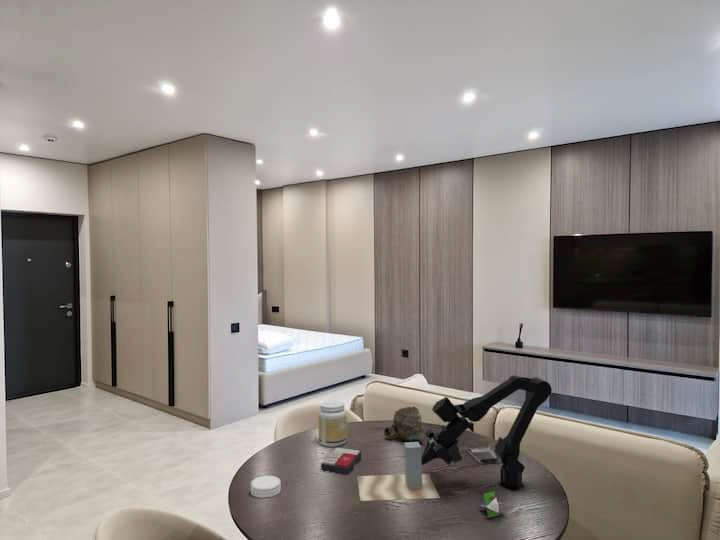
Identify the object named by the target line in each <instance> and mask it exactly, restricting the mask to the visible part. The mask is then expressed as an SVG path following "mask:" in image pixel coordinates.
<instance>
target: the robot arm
mask: <svg viewBox="0 0 720 540" xmlns="http://www.w3.org/2000/svg"><path fill="white" fill-rule="evenodd" d="M552 388H553V387H552V386H551V384H550V383H549V382H548V381H546V380H544V379H542V378H540V377H536V376H534V377H532V378H531V377H526V376H525V377H524V376H518V375H516V374H514V375H511V376H510V377H509V378H508V379H507V380H505V381H503V382H502V383H500V384H499V385H498V386H496V387H494V388H493V389H491V390H489V391H488V392H487V393H485V394H483V395H481V396H478V397H474V398H472V399H469V400H467V401H465V402H464V403H462V404H454V403H452V402H451V400H450V399H449V398H448V396H445V397H444V398H441V399H439V400H437V401H436V402H434V403H435V404H433V406H432V412H433V413H434V414H436V416H437V417H438V418H439V419H440V420H441V421H442V422H443V423H447V424H445V425H441V430H440V431H439V432H438V433H437V434H436V433H435V432H434V431H433V429H427V430H426V432H425V431H424V435H425V436H426V437H427V438H428V439H430V440H428V439H427V440H426V443H425V447H424V450H423V453H422V454H421V461H422V466H423V465H426V464H428V463H429V462H432V461H433V460H435V459H440V460H442V461H444V462H445V463H446V464H447V465H448V466H450V465H451V463H454V464H456V463H458V462H460V461H462V460H463V458H462V454H461V453H460V451H459V450H460V448H459V445H458V444H459V440H458V439H459V438H460V437H461V436H463V434H464V433H465V432H467V430H468V429H469V430H470V431H471V432H472V433H474V432H475V429H474V426H475V424H474V423H477V422H479V421H481V420H482V419H483V418H484V417H486V415H487V414H488V412H489V411H490V409H492V408H493V407H494V406H495V405H497V404H498V403H500V402H501V401H503V400H504V399H506V398H508V397H509V396H510V395H512V394H513V393H515V392H517V391H518V390H521V391H525V395H524V396H525V397H524V401H523V403H522V404H521V407H520V410H519V412H518V413H517V416H516V418H515V420H514V421H513V424H512V425H511V428H510V430H509V432H508V433H507V435H506V436H505V437H504V438H502V437H501V436H499V437H498V439H497V443H496V444H495V445H494V453H495V455H496V457H497V458H498V459H499V462H500V464H502V465H501V466H500V472H499V473H500V474H499V475H500V476H499V479H500V482H498V485H499V486H501V487H504V488H506V489H509V490H511V491H513V492H515V491H517V490H519V489H521V488H524V487H525V483H523V473H524V470H525V468H526V467H525V465H524V464H523V463H522V461H520V460H519V456H520V452H521V443H522V441H523V438H524V437H525V435H526V432H527V430H528V428H529V427H530V425H531V422H532V420H533V418H534V416H535V414H536V412H537V411H538V408H539V407H540V406H541V405H542V404H544V403H545V402H546V401H547V400H548V399H549V397H550V395H551V394H552V391H553V389H552ZM458 414H459V415H458ZM473 422H474V423H473Z"/></svg>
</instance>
